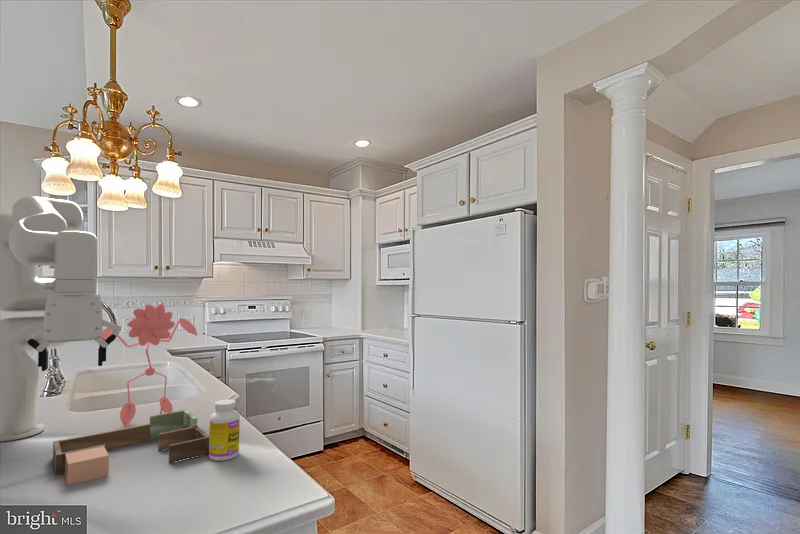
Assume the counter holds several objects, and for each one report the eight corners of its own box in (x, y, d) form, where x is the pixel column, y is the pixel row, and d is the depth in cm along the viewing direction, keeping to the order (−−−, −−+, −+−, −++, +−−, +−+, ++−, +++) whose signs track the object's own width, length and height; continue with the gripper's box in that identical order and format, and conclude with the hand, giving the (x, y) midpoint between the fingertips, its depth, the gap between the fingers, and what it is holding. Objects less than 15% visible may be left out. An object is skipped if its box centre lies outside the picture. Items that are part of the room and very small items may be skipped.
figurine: (91, 426, 125) (96, 304, 126) (187, 409, 143) (191, 301, 144) (101, 442, 114) (106, 307, 115) (204, 421, 132) (207, 304, 132)
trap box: (52, 458, 102) (53, 432, 103) (185, 431, 121) (186, 409, 122) (58, 491, 87) (59, 460, 87) (210, 453, 106) (211, 428, 106)
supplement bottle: (228, 463, 100) (229, 406, 101) (202, 460, 102) (203, 404, 102) (244, 452, 107) (245, 399, 107) (220, 449, 108) (221, 397, 109)
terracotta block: (64, 475, 94) (65, 453, 95) (103, 466, 99) (104, 446, 99) (67, 486, 89) (67, 464, 89) (108, 476, 94) (108, 455, 94)
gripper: (19, 288, 87) (17, 375, 87) (122, 287, 97) (120, 366, 96) (26, 288, 94) (24, 369, 93) (122, 287, 103) (120, 361, 102)
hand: (73, 367), depth 94 cm, fingers open, 9 cm apart
